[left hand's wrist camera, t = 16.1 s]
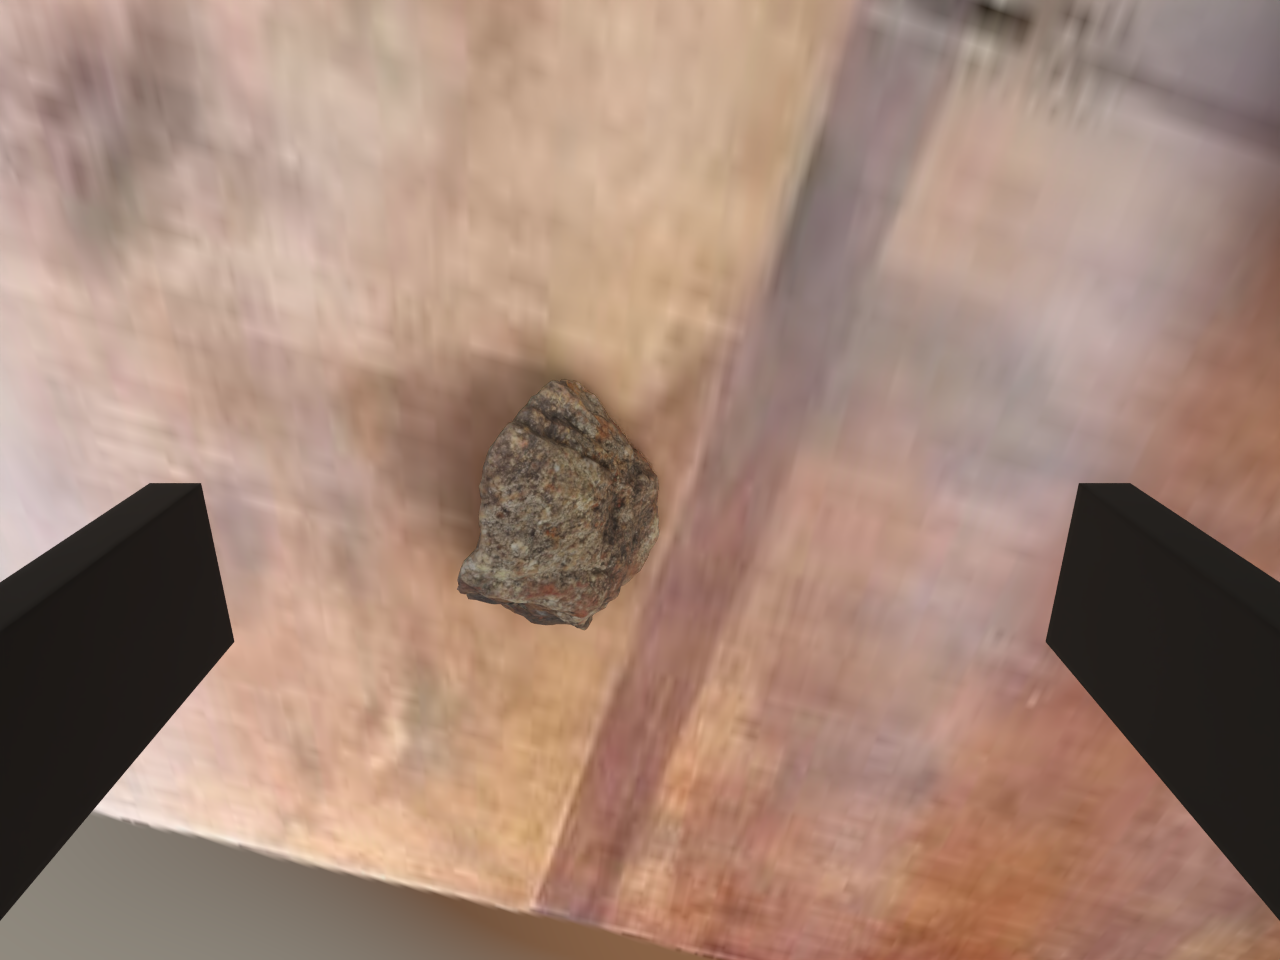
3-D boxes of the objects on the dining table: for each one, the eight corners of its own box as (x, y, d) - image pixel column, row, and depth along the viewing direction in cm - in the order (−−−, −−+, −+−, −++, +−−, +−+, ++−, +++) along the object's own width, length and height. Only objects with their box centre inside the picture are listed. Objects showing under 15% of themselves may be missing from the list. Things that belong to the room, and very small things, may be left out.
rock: (438, 564, 47) (595, 632, 49) (391, 658, 39) (580, 736, 41) (540, 346, 41) (714, 431, 43) (509, 405, 33) (723, 507, 35)
